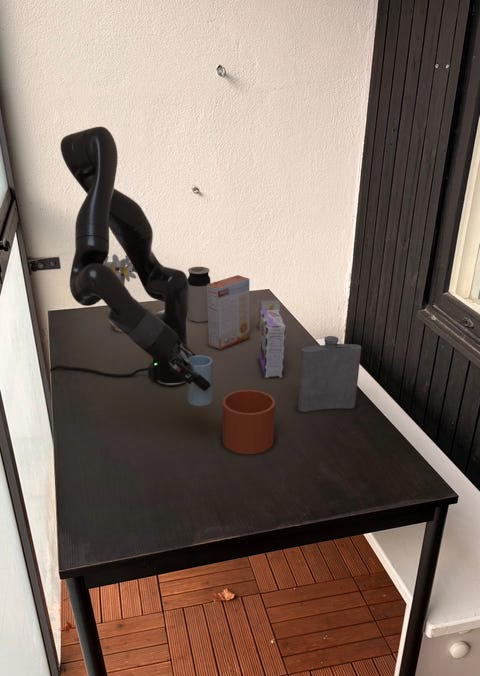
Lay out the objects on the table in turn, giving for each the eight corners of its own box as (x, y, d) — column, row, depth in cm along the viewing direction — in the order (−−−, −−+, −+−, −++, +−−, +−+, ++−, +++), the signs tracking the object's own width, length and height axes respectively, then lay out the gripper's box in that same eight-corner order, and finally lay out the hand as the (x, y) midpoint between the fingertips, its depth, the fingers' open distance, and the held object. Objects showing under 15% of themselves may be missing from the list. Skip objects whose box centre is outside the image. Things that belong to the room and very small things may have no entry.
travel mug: (185, 320, 232) (183, 271, 223) (194, 313, 238) (193, 265, 229) (205, 323, 229) (204, 274, 220) (214, 316, 235) (213, 267, 226)
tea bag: (258, 326, 227) (259, 299, 222) (277, 325, 228) (278, 298, 223) (260, 330, 224) (260, 302, 219) (279, 329, 225) (280, 302, 220)
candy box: (258, 359, 203) (260, 309, 195) (277, 358, 204) (279, 308, 195) (263, 378, 191) (265, 326, 183) (283, 377, 192) (286, 325, 184)
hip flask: (299, 412, 174) (303, 343, 163) (295, 405, 177) (299, 337, 167) (356, 408, 176) (364, 339, 166) (351, 401, 179) (359, 333, 169)
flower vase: (154, 332, 222) (149, 260, 209) (99, 337, 218) (91, 263, 205) (149, 319, 232) (145, 249, 220) (97, 323, 228) (89, 252, 216)
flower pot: (216, 450, 157) (216, 410, 151) (230, 424, 167) (230, 387, 162) (267, 457, 154) (268, 417, 149) (278, 431, 165) (279, 393, 159)
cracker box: (237, 334, 221) (237, 274, 210) (250, 339, 217) (250, 278, 207) (207, 345, 212) (205, 283, 202) (219, 350, 209) (218, 287, 198)
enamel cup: (183, 404, 149) (182, 364, 144) (192, 392, 154) (190, 354, 149) (208, 407, 148) (207, 367, 143) (216, 395, 153) (215, 356, 148)
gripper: (141, 333, 149) (195, 378, 156) (139, 359, 137) (197, 406, 144) (163, 311, 147) (216, 357, 154) (163, 335, 134) (220, 384, 141)
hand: (206, 381), depth 149 cm, fingers closed on enamel cup, 6 cm apart
